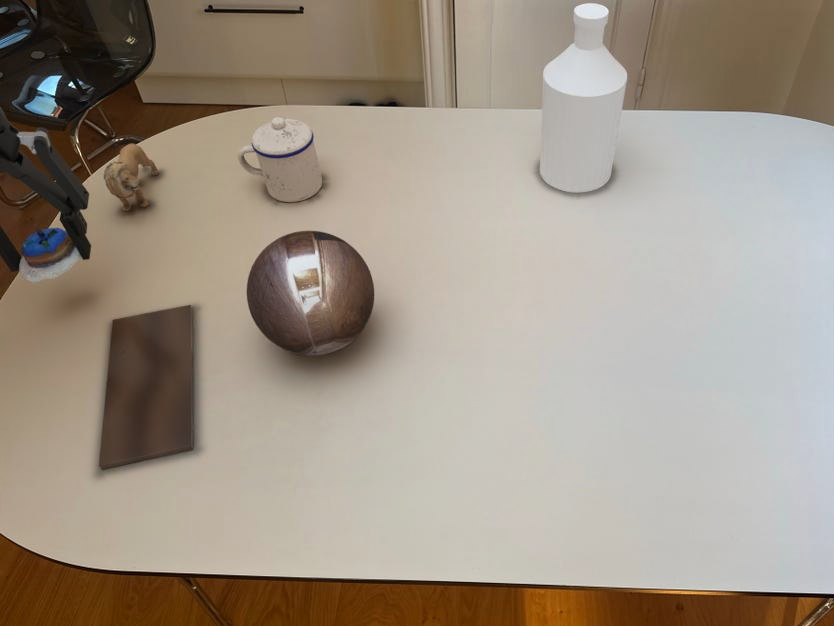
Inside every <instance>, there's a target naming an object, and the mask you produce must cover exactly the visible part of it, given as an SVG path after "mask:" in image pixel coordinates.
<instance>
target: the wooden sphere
mask: <svg viewBox="0 0 834 626" xmlns="http://www.w3.org/2000/svg"><path fill="white" fill-rule="evenodd" d="M249 270H250V271H249V274H248V277H247V282H246V302H247V306H248V310H249V313H250V315H251V318H252V320H253V322H254V324H255V326H256V327H257V329H258V330H259V331H260V332H261V333H262V335H263V336H264V337H265V338H266V339H268V340H269V341H270V342H271V343H273V344H274V345H275V346H277V347H279V348H281V349H282V350H285V351H287V352H290V353H292V354H296V355H303V356H323V355H327V354H330V353H331V354H332V353H333V352H336V351H338V350H341V349H343V348H344V347H347V345H349V344H351V343H352V342H353V341H355V340H356V338H357V337H358V336H359V335H360V334H361V333H362V332H363V330H364V329H365V327H366V326H367V325H368V322H369V321H370V318H371V317H372V313H373V309H374V305H375V304H374V303H375V285H374V281H373V280H374V279H373V276H372V273H371V271H370V268H369V266H368V264H367V263H366V260H365V259H364V258H363V256H362V255H361V254H360V253H359V251H357V249H356V248H354V247H353V246H352V245H351V244H350V243H349V242H347V241H346V240H344V239H342V238H340V237H338V236H337V235H334V234H331V233H328V232H326V231H325V232H324V231H319V230H299V231H294V232H291V233H287V234H284V235H282V236H280V237H278V238H276V239H275V240H273V241H271V243H269V244H268V245H267V246H266V247H265V248H264V249H262V251H261V252H260V253H259V254H258V255H257V257H256V258H255V260H254V262H253V264H252V265H251V268H250V269H249Z"/></svg>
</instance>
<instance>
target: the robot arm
mask: <svg viewBox="0 0 834 626" xmlns="http://www.w3.org/2000/svg"><path fill="white" fill-rule="evenodd" d="M21 145H24V146H25V147H27V148H28V149H29V151H30V152H31V154H33V155H36V156H37V158H38V159H39V161H40V163H41V164H42V166H44V168H45V169H46V170H47V172H48V174H50V175H51V177H52V178H53V179H54V180H55V181H54V180H53V179H52V178H50V177H49V176H48V175H47V174H46V173H45V172H43V171H42V170H41V169H40V168H38V166H37V165H35V164H34V163H33V162H32V161H31V160H30V157H28V156H27V154H26V153H24V152H23V151H22V150H20V147H21ZM6 173H7V174H8V175H9V176H11V177H12V178H13V179H15V180H19V181H20V182H22V183H24V184H25V185H26V186H27V187H28V188H29V189H31V190H32V191H33V192H35V193H36V194H37V195H38V196H39V197H41V198H42V199H44V200H45V201H46V202H47V203H48V204H50V205H51V206H52V207H53V208H54V209H56V210H57V211H58V212H60V213H59V214H60V215H59V222H60V223H61V225H62V228H64V231H66V232H67V234H68V235H69V237H70V239H71V240H72V242H73V244H74V245H75V247H76V249H77V250H78V252H79V254H80V255H81V257H80V258H81V259H82V260H83V261H86V260H90V258H91V251H92V244H91V242H90V241H89V238H88V237H87V231H88V222H87V221H86V218H85V216H84V215H83V213H82V212H81V211H85V210H87V209H88V207H89V199H90V192H89V191H88V189H87V188H86V187H85V186H84V184H83V183H82V182H81V180H80V179H79V178H78V177H77V175H76V174H75V173H74V171H73V170H72V169H71V168H70V166H69V165H68V163H67V162H66V161H65V160H64V158H63V157H62V156H61V154H60V153H59V151H58V150H57V149H56V148H55V146H54V144H53V141H52V139H51V135H50V132H49V130H48V128H45V127H41V126H40V127H37V128H36V130H35V131H20V130H19V129H18V128H17V127H15V126H14V125H13V124H12V123H10V121H9V119H8V118H7V117H6V114H5V112H4V110H3V108H2V107H1V106H0V174H6ZM0 257H1V259H2V260H3V262H4V263H5V265H6V266H7V267H8V268H9V270H10V271H11V273H15V272H20V271H19V264H20V260H21V259H22V254H20V253H19V251H18V249H17V247H16V246H15V245H14V244H13V242H12V240H10V238H9V236H8V235H7V233H6V232H5V230H4V229H3V227H2V226H1V225H0Z"/></svg>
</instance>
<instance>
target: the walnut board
mask: <svg viewBox="0 0 834 626" xmlns="http://www.w3.org/2000/svg"><path fill="white" fill-rule="evenodd" d="M193 315H194V314H193V307H192V305H191V304H188V305H182V306H177V307H171V308H167V309H161V310H156V311H151V312H146V313H145V312H144V313H141V314H136V315H129V316H125V317H120V318H115V319H112V324H111V334H110V343H109V345H110V346H109V355H108V366H107V376H106V386H105V395H104V396H105V397H104V407H103V419H102V429H101V441H100V449H99V450H100V451H99V459H98V467H99V468H100V469H101V470H106V469H111V468H116V467H120V466H124V465H129V464H134V463H138V462H142V461H146V460H151V459H155V458H161V457H166V456H169V455H174V454H178V453H183V452H187V451H191V450H194V349H193V348H194V345H193V344H194V342H193V341H194V340H193V339H194V338H193V337H194V335H193V333H194V330H193V329H194V328H193V327H194V326H193V325H194V324H193V319H194V317H193Z"/></svg>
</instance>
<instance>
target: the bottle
mask: <svg viewBox="0 0 834 626" xmlns="http://www.w3.org/2000/svg"><path fill="white" fill-rule="evenodd" d="M609 14H610V11H609V8H607V7H606V6H605V5H603V4H600V3H595V2H594V3H593V2H589V3H587V2H586V3H582V4H579V5H577V6H575V7H574V9H573V23H574V41H572V43H571V44H570V45H568V47H567V48H565V50H564V51H562V52H561V53H560V54H559V55H558V56H556V57H555V58H554V59H553V60H551V61H550V62H548V63H547V64H546V66H544V69H543V71H542V94H541V123H540V124H541V125H540V152H539V158H540V159H539V174H540V177H541V178H542V180H543V181H544V182H545V183H546V184H547V185H548V186H550V187H553V188H554V189H556V190H559V191H562V192H567V193H576V194H577V193H578V194H579V193H588V192H594V191H595V190H598V189H600V188H602V187H603V186H605V185H606V184H607V183H608V181H609V180H610V179H611V176H612V171H613V165H614V158H615V153H616V147H617V142H618V137H619V136H618V135H619V128H620V123H621V118H622V112H623V106H624V100H625V95H626V88H627V81H628V73H627V70H626V69H625V68H624V66H623V65H622V64H621V63H620V62H619V61H618V60H617V59H616V58H615V57H614V56H613V55H612V53H611V52H610V51H609V49H608V48H607V47H606V46H605V44H604V43H603V41H604V34H605V28H606V26H607V25H608V22H609Z"/></svg>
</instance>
